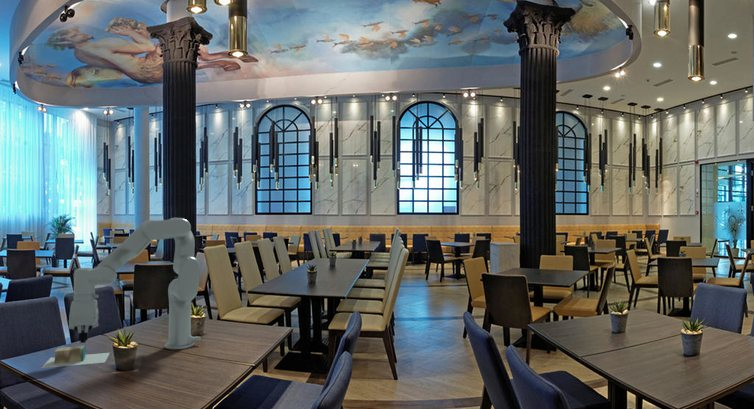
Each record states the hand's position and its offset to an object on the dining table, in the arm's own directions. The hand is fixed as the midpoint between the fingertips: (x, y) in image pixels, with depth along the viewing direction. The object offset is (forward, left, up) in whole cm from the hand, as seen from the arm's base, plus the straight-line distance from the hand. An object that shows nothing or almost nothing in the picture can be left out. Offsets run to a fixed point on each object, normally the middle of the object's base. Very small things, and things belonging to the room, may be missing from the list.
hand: (83, 341), depth 199 cm
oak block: (-1, 0, -5) cm, 5 cm away
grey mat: (+2, 0, -8) cm, 8 cm away
